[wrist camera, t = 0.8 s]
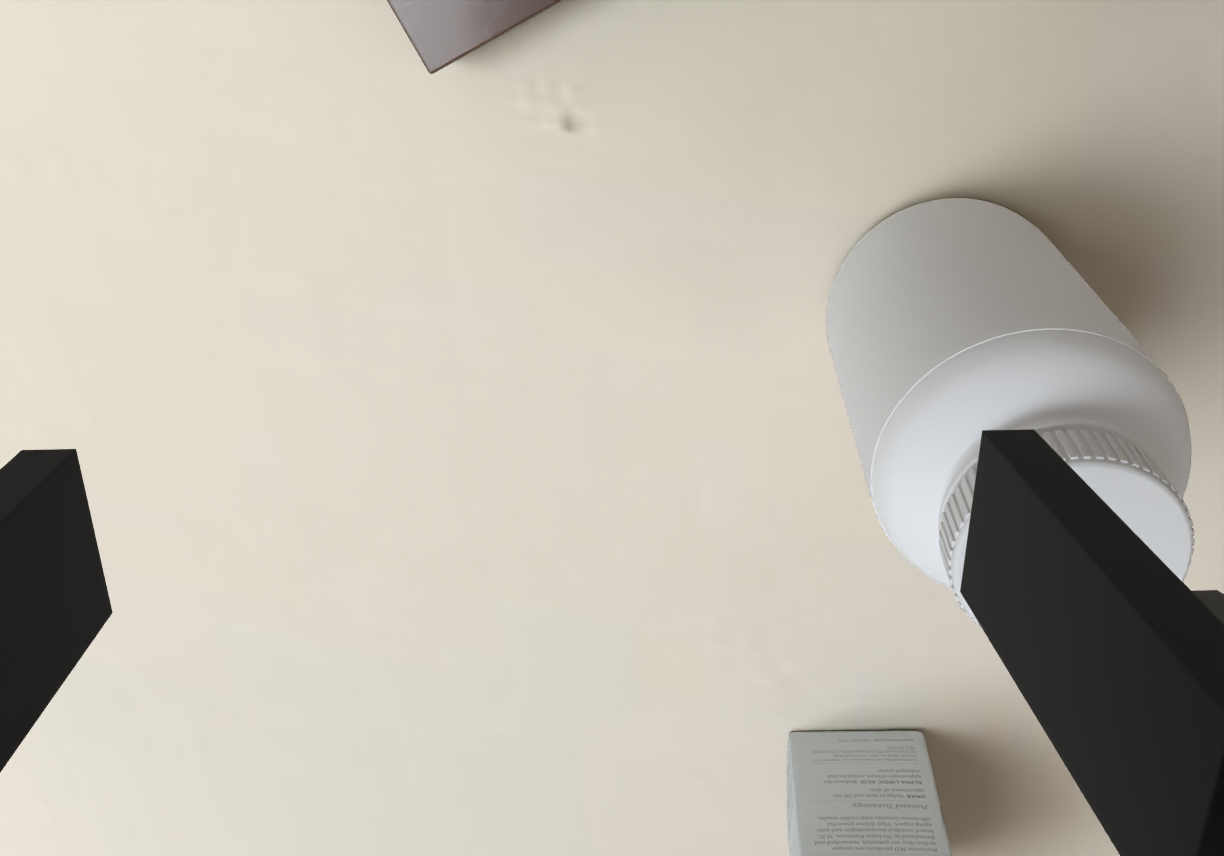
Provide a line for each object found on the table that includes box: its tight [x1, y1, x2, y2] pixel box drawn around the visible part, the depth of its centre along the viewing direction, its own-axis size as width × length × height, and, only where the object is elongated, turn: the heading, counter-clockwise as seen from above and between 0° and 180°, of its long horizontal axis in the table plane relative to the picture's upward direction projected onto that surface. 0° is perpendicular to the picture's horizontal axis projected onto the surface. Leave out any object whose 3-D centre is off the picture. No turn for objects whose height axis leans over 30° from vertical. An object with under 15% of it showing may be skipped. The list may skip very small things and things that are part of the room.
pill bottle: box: [826, 198, 1194, 628], centre depth 31 cm, size 8×8×15 cm
